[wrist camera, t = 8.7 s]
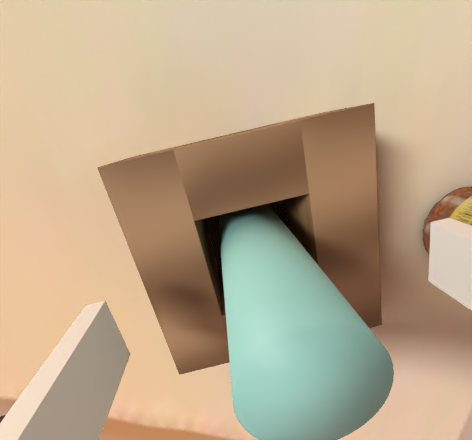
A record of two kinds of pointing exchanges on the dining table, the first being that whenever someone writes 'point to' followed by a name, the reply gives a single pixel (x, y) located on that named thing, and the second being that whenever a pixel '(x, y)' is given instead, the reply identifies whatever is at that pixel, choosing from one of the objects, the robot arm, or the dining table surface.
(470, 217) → the sauce bottle
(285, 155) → the socket block
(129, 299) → the dining table surface
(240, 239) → the dowel
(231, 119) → the dining table surface
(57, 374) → the robot arm
